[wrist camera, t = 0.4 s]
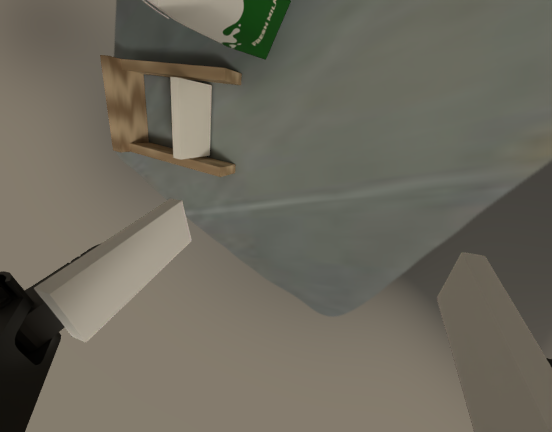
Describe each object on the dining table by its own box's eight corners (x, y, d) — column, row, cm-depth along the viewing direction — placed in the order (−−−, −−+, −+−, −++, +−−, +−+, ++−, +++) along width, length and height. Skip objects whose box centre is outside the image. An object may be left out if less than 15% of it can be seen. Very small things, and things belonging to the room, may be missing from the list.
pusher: (204, 84, 38) (170, 76, 32) (211, 85, 38) (178, 77, 32) (203, 153, 42) (173, 157, 37) (209, 155, 42) (180, 159, 36)
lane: (135, 63, 43) (100, 55, 38) (241, 73, 35) (215, 64, 30) (142, 148, 49) (113, 150, 44) (234, 173, 41) (212, 179, 36)
